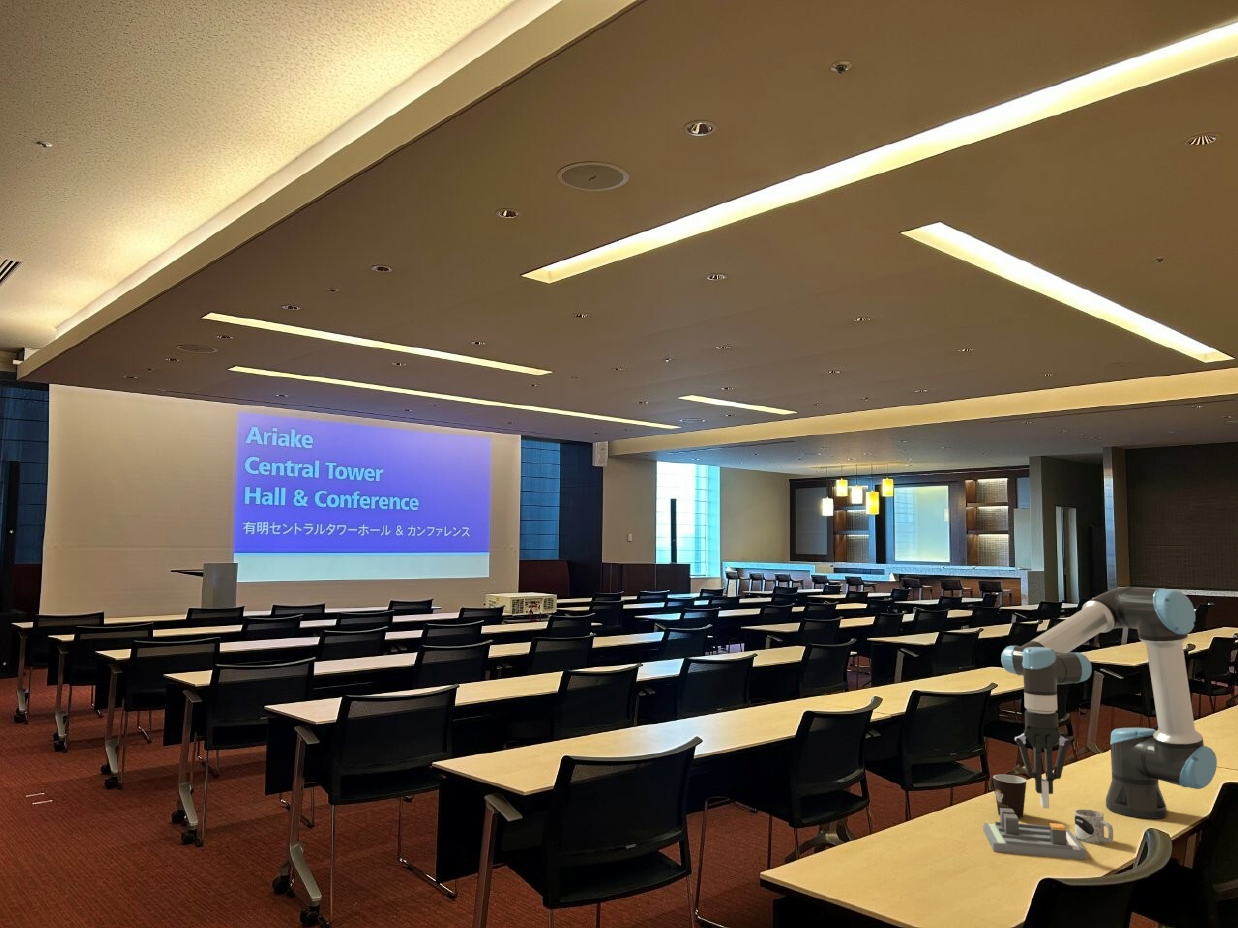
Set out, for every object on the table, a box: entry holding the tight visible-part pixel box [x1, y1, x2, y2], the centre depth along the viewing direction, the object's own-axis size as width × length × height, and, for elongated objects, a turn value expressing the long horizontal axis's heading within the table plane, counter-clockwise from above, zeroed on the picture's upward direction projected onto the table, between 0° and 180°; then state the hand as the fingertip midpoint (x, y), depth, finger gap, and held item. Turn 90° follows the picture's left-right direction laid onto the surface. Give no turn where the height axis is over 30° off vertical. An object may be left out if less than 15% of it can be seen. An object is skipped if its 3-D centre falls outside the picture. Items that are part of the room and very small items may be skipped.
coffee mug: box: [990, 774, 1027, 820], centre depth 251 cm, size 12×9×10 cm
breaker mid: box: [1003, 814, 1020, 835], centre depth 226 cm, size 3×3×5 cm
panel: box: [982, 821, 1088, 861], centre depth 225 cm, size 21×16×3 cm
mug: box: [1074, 808, 1114, 845], centre depth 228 cm, size 10×7×7 cm
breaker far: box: [999, 808, 1015, 828], centre depth 231 cm, size 3×3×5 cm
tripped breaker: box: [1049, 822, 1067, 845], centre depth 219 cm, size 3×3×5 cm
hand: (1044, 806), depth 221 cm, fingers closed
